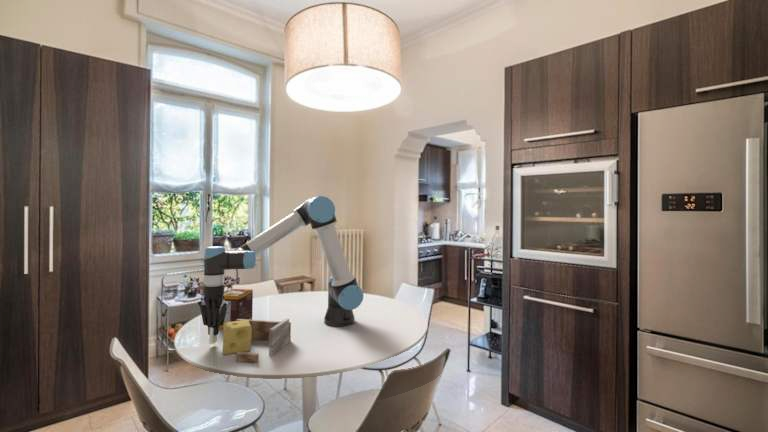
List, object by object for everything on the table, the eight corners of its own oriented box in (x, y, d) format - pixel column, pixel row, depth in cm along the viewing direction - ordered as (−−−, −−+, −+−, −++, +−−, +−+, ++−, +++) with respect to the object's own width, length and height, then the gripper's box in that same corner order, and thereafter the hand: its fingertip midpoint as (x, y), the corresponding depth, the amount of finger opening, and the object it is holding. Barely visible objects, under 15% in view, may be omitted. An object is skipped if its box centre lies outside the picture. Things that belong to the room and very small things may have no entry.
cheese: (222, 355, 135) (222, 329, 135) (222, 345, 145) (222, 321, 145) (251, 351, 140) (251, 325, 140) (249, 342, 149) (249, 318, 149)
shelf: (290, 341, 151) (290, 317, 151) (262, 363, 128) (263, 336, 128) (237, 337, 155) (237, 314, 155) (201, 358, 132) (201, 331, 132)
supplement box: (252, 319, 181) (253, 289, 181) (237, 329, 166) (237, 295, 166) (233, 318, 182) (233, 288, 182) (216, 328, 167) (216, 295, 167)
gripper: (234, 283, 147) (233, 340, 147) (205, 282, 149) (204, 338, 149) (223, 287, 139) (221, 347, 140) (193, 285, 142) (192, 344, 142)
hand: (213, 342), depth 144 cm, fingers closed
